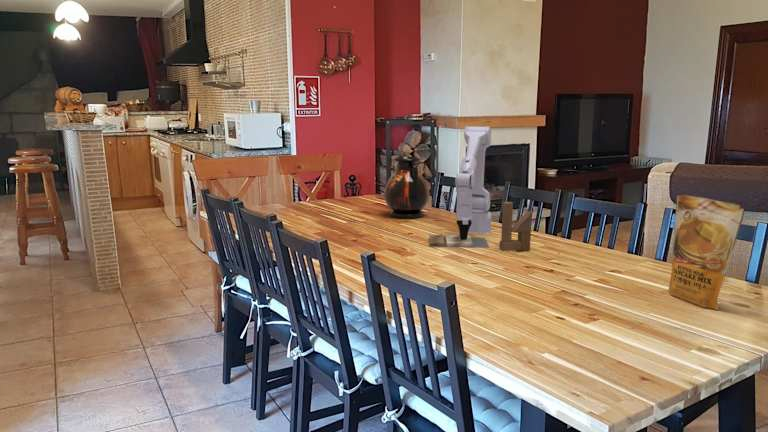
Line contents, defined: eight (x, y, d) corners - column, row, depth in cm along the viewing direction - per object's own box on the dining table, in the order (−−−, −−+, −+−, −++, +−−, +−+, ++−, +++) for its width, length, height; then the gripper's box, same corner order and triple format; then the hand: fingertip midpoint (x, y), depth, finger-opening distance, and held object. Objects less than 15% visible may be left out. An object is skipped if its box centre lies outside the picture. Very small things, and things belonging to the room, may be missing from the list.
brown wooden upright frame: (530, 250, 211) (532, 202, 207) (503, 252, 208) (505, 203, 205) (525, 248, 214) (527, 200, 211) (498, 250, 212) (500, 201, 208)
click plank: (469, 238, 228) (469, 235, 228) (472, 246, 214) (473, 243, 214) (445, 237, 228) (445, 234, 228) (446, 246, 215) (446, 243, 214)
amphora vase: (377, 213, 283) (376, 156, 277) (415, 210, 292) (416, 155, 286) (396, 221, 263) (396, 160, 258) (437, 217, 272) (438, 158, 267)
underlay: (484, 239, 229) (484, 237, 228) (489, 249, 213) (489, 247, 213) (429, 238, 230) (429, 237, 230) (429, 248, 214) (429, 246, 214)
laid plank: (444, 237, 228) (444, 235, 228) (446, 246, 215) (446, 243, 214) (429, 237, 229) (429, 234, 229) (429, 246, 215) (429, 243, 215)
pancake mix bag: (676, 288, 167) (685, 193, 162) (734, 310, 149) (747, 203, 144) (657, 291, 165) (666, 194, 159) (715, 313, 147) (727, 205, 142)
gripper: (452, 201, 226) (451, 235, 228) (454, 207, 211) (454, 243, 214) (470, 201, 225) (469, 235, 228) (474, 207, 211) (473, 243, 214)
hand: (463, 239), depth 221 cm, fingers closed, pressing on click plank
